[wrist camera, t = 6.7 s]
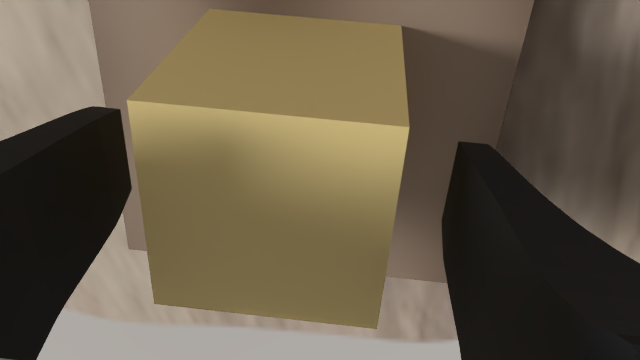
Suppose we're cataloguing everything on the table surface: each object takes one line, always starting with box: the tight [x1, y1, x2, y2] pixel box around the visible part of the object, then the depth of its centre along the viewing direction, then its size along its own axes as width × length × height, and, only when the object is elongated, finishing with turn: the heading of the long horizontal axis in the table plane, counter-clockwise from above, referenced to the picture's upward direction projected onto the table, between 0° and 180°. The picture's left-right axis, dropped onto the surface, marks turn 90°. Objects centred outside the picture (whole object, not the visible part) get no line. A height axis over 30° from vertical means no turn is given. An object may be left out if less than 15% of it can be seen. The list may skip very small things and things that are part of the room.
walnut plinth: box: [89, 0, 534, 283], centre depth 15 cm, size 10×10×2 cm
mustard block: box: [127, 9, 410, 329], centre depth 12 cm, size 4×4×5 cm
